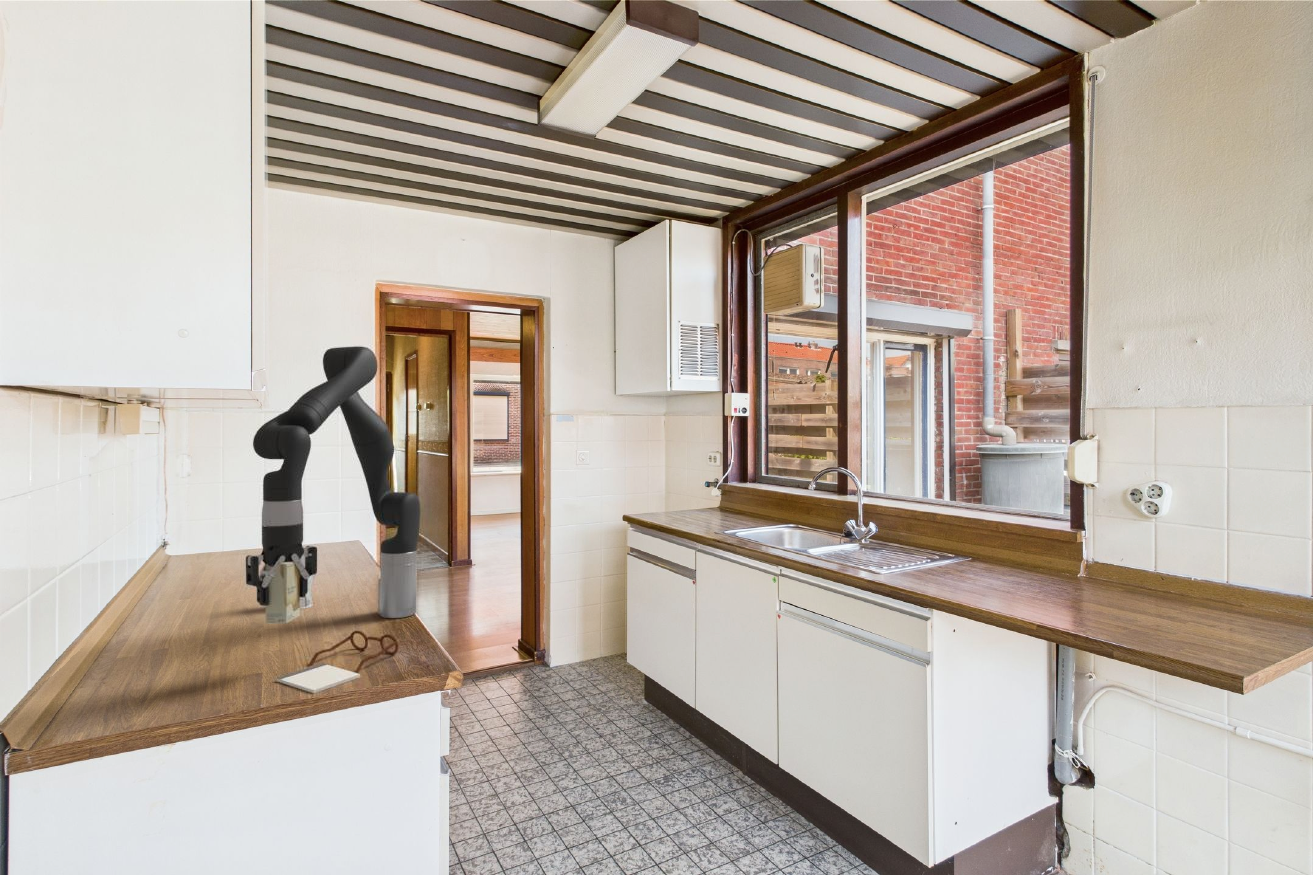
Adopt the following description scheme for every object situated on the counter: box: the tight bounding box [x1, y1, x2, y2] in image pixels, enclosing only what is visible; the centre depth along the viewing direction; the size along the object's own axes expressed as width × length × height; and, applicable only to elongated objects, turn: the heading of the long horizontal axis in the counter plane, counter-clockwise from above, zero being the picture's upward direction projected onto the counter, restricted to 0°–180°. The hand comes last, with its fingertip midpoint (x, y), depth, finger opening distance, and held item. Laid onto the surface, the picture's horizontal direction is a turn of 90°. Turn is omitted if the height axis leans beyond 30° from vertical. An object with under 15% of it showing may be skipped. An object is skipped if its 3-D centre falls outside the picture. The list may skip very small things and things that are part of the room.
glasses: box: [307, 630, 399, 674], centre depth 147 cm, size 13×13×5 cm
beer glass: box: [300, 555, 315, 610], centre depth 192 cm, size 7×7×15 cm
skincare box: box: [265, 561, 301, 624], centre depth 140 cm, size 6×4×12 cm
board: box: [276, 662, 361, 694], centre depth 136 cm, size 12×10×1 cm
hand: (282, 600), depth 140 cm, fingers closed on skincare box, 7 cm apart
